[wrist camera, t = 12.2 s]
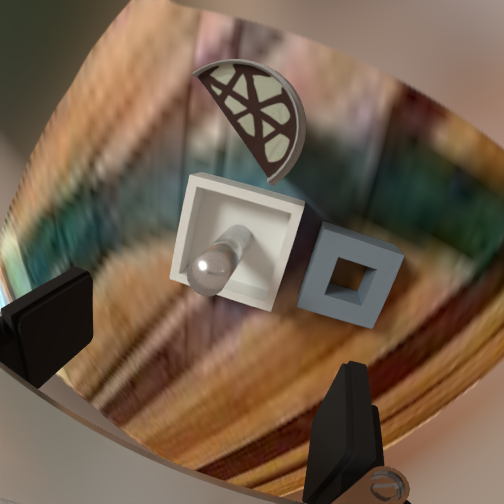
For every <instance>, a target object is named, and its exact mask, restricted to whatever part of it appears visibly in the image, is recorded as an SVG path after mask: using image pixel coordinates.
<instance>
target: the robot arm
mask: <svg viewBox="0 0 504 504" xmlns="http://www.w3.org/2000/svg"><path fill="white" fill-rule="evenodd" d="M1 313H2V316H1V317H0V504H305V503H307V504H411V503H410V502H409V501H407V500H406V499H407V498H408V496H409V491H410V487H409V483H408V481H407V479H406V477H405V476H404V475H403V474H402V473H401V472H400V471H398V470H396V469H395V468H391V467H388V466H384V456H383V445H382V436H381V427H380V419H379V411H378V407H377V406H375V405H371V397H370V389H369V381H368V373H367V367H366V365H365V364H362V363H358V362H354V361H349V362H348V364H344V363H343V364H342V365H341V367H340V369H339V371H338V373H337V375H336V377H335V379H334V381H333V383H332V385H331V387H330V389H329V390H328V392H327V394H326V396H325V398H324V400H323V402H322V404H321V405H320V407H319V409H318V411H317V413H316V414H315V416H314V419H313V422H312V428H311V437H310V446H309V454H308V462H307V470H306V477H305V485H304V491H303V498H302V501H303V503H301V502H297V501H293V500H289V499H285V498H282V497H278V496H274V495H270V494H266V493H263V492H259V491H255V490H252V489H248V488H245V487H242V486H238V485H235V484H232V483H229V482H226V481H223V480H220V479H217V478H214V477H211V476H208V475H205V474H202V473H199V472H197V471H194V470H191V469H189V468H186V467H183V466H181V465H178V464H176V463H173V462H171V461H168V460H166V459H164V458H161V457H159V456H157V455H155V454H152V453H150V452H148V451H146V450H143V449H141V448H139V447H137V446H135V445H133V444H131V443H128V442H127V441H125V440H122V439H121V438H119V437H117V436H115V435H113V434H111V433H109V432H107V431H105V430H103V429H102V428H100V427H98V426H96V425H94V424H92V423H91V422H89V421H87V420H86V419H84V418H82V417H80V416H79V415H77V414H75V413H74V412H72V411H71V410H69V409H67V408H66V407H64V406H62V405H61V404H59V403H58V402H56V401H55V400H53V399H51V398H50V397H48V396H47V395H45V394H44V393H42V392H41V391H40V390H38V388H40V387H41V386H42V385H43V384H44V383H45V382H46V381H47V380H49V379H50V378H51V377H52V376H53V375H54V374H55V373H56V372H58V371H59V370H60V369H61V368H62V367H63V366H64V365H65V364H66V363H68V362H69V361H70V360H71V359H72V358H73V357H74V356H75V355H77V354H78V353H79V352H80V351H81V350H82V349H83V348H84V347H86V346H87V345H88V344H89V343H90V342H91V340H92V338H93V279H92V277H91V276H90V273H89V272H88V271H86V270H83V269H81V268H79V267H74V268H72V269H70V270H68V271H67V272H65V273H63V274H61V275H59V276H57V277H56V278H54V279H52V280H50V281H48V282H46V283H45V284H43V285H41V286H39V287H38V288H36V289H34V290H32V291H30V292H29V293H27V294H25V295H23V296H22V297H20V298H18V299H17V300H15V301H13V302H11V303H10V304H8V305H6V306H5V307H3V308H1Z"/></svg>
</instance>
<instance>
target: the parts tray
mask: <svg viewBox="0 0 504 504" xmlns="http://www.w3.org/2000/svg"><path fill="white" fill-rule="evenodd" d="M304 205H305V201H303V200H299V199H296V198H293V197H289V196H286V195H283V194H279V193H276V192H273V191H269V190H266V189H262V188H259V187H255V186H252V185H248V184H245V183H241V182H237V181H234V180H230V179H226V178H223V177H219V176H215V175H211V174H207V173H204V172H200V173H195V174H191V175H190V176H189V181H188V185H187V190H186V194H185V199H184V204H183V209H182V214H181V219H180V224H179V229H178V234H177V239H176V245H175V250H174V255H173V261H172V267H171V273H170V279H172V280H175V281H178V282H181V283H184V284H187V285H189V283H188V280H187V270H188V267H189V265H190V264H191V263H192V262H193V261H194V260H195V259H196V258H197V257H198V256H199V255H200V254H201V253H202V252H203V251H205V250H206V249H207V248H208V247H209V246H210V245H211V244H212V243H213V242H214V241H215V240H216V239H217V238H218V237H219V236H220V235H222V234H223V233H224V232H225V231H226V230H227V229H228V228H229V227H231V226H232V225H236V224H239V225H243V226H245V227H247V228H248V229H249V230H250V232H251V234H252V244H251V246H250V247H249V249H248V251H247V252H246V254H245V255H244V257H243V258H242V260H241V261H240V263H239V265H238V266H237V268H236V269H235V271H234V272H233V274H232V275H231V277H230V279H229V280H228V282H227V283H226V285H225V286H224V288H223V289H222V291H221V292H219V293H218V294H216V295H219V296H222V297H225V298H228V299H231V300H234V301H237V302H241V303H244V304H247V305H250V306H253V307H256V308H259V309H263V310H266V311H269V312H271V310H272V307H273V304H274V301H275V298H276V295H277V292H278V289H279V286H280V283H281V280H282V276H283V273H284V270H285V267H286V264H287V261H288V258H289V255H290V251H291V248H292V245H293V242H294V239H295V236H296V232H297V229H298V226H299V223H300V219H301V216H302V213H303V210H304ZM189 286H190V285H189Z"/></svg>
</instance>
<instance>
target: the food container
mask: <svg viewBox="0 0 504 504" xmlns="http://www.w3.org/2000/svg"><path fill="white" fill-rule="evenodd" d="M192 75H194V76H195V77H197V78H198V79H199V80H200V81H201V83H202V84H203V85H204V86H205V87H206V88H207V90H208V91H209V93H210V94H211V95H212V97H213V98H214V100H215V101H216V103H217V104H218V105H219V107H220V108H221V110H222V111H223V113H224V114H225V116H226V117H227V119H228V120H229V121H230V123H231V124H232V126H233V127H234V129H235V130H236V131H237V133H238V134H239V136H240V137H241V138H242V140H243V141H244V143H245V144H246V146H247V147H248V149H249V150H250V152H251V153H252V154H253V156H254V157H255V159H256V160H257V162H258V163H259V165H260V166H261V168H262V169H263V171H264V172H265V174H266V175H267V177H268V179H267V182H269V184H271V185H275V184H276V183H278V182H279V181H280V180H282V179H283V178H284V177H285V176H286V175H287V174H288V173H289V172H290V170H291V169H292V168H293V166H294V165H295V163H296V162H297V160H298V158H299V156H300V154H301V152H302V148H303V145H304V142H305V136H306V116H305V112H304V107H303V105H302V102H301V100H300V97H299V95H298V94H297V92H296V91H295V89H294V87H293V86H292V85H291V84H290V83H289V82H288V80H287V79H286V78H284V77H283V76H282V75H281V74H279V73H278V72H277V71H275V70H273V69H271V68H270V67H267V66H265V65H262V64H259V63H257V62H253V61H249V60H243V59H229V60H221V61H218V62H214V63H211V64H208V65H206V66H204V67H202V68H200V69H198V70H197V71H195V72H193V73H192Z"/></svg>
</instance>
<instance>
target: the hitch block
mask: <svg viewBox="0 0 504 504" xmlns="http://www.w3.org/2000/svg"><path fill="white" fill-rule="evenodd" d="M338 257H340V258H343V259H346V260H349V261H353V262H356V263H359V264H362V265H365V266H367V269H366V271H365V274H364V276H363V279H362V281H361V284H360V286H359V289H358V291H355V290H352V289H349V288H345V287H342V286H339V285H336V284H332V283H329V281H330V278H331V275H332V273H333V270H334V267H335V264H336V262H337V259H338ZM403 258H404V255H403V253H402V252H401V251H400V250H399V249H398V247H397V246H396V245H394V244H391V243H388V242H385V241H382V240H379V239H376V238H373V237H371V236H368V235H365V234H362V233H359V232H356V231H353V230H350V229H346V228H343V227H340V226H337V225H334V224H331V223H328V222H325V221H322V224H321V227H320V230H319V233H318V236H317V239H316V242H315V245H314V248H313V251H312V254H311V257H310V260H309V263H308V266H307V269H306V272H305V275H304V278H303V281H302V283H301V286H300V289H299V292H298V301H297V307H298V308H301V309H305V310H308V311H311V312H315V313H318V314H321V315H325V316H328V317H332V318H335V319H339V320H342V321H346V322H349V323H353V324H356V325H360V326H363V327H367V328H370V329H373V326H374V324H375V322H376V320H377V318H378V316H379V314H380V312H381V310H382V307H383V305H384V303H385V301H386V298H387V296H388V294H389V292H390V289H391V287H392V285H393V282H394V280H395V278H396V275H397V273H398V270H399V268H400V266H401V263H402V261H403Z"/></svg>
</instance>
